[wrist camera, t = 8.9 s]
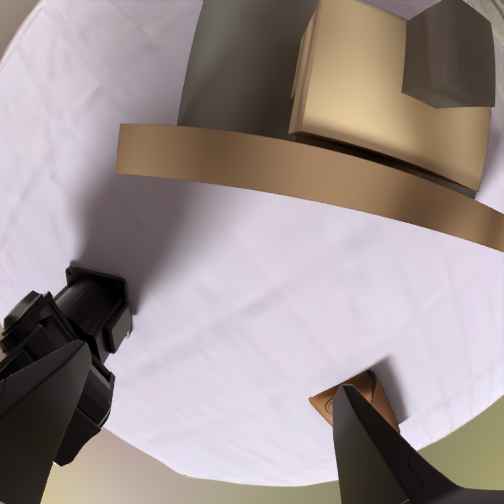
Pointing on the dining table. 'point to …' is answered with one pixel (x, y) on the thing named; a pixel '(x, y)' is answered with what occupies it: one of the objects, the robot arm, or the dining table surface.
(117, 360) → the dining table surface
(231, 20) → the wall board
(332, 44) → the wooden block
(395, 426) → the sunglasses case
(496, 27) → the french press
